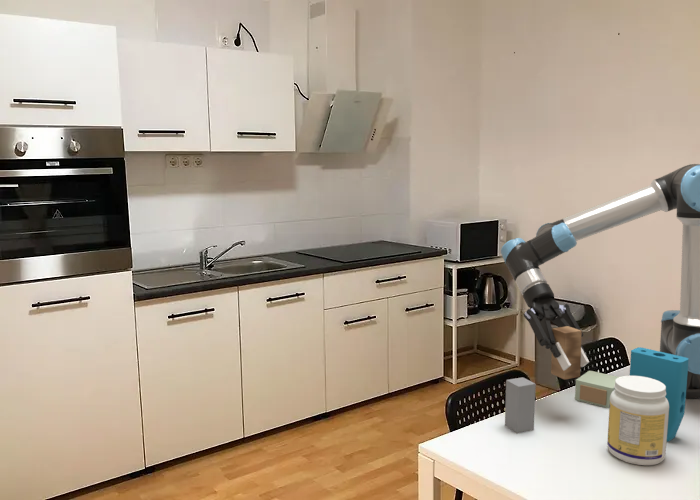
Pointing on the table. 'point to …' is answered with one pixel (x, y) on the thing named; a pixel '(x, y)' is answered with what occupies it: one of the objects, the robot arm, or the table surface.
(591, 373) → the base block
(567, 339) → the walnut block
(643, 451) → the supplement tub
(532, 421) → the slate block
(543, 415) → the table surface
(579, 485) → the table surface
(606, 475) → the table surface
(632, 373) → the block
